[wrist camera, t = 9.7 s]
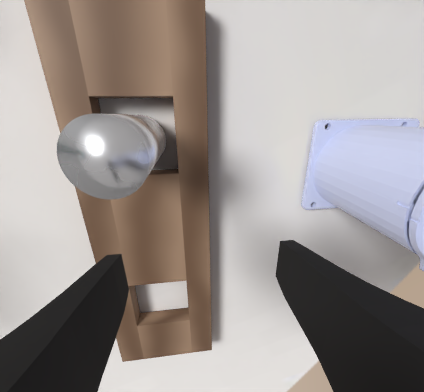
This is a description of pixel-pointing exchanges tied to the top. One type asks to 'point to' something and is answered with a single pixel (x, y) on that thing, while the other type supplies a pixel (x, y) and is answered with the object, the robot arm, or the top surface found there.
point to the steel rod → (110, 153)
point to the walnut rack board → (157, 179)
